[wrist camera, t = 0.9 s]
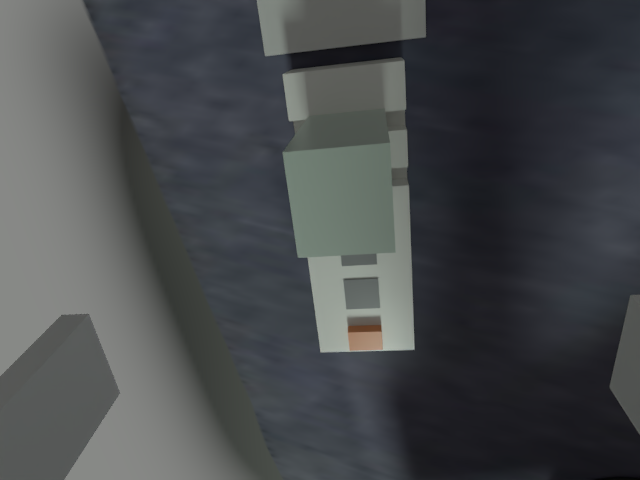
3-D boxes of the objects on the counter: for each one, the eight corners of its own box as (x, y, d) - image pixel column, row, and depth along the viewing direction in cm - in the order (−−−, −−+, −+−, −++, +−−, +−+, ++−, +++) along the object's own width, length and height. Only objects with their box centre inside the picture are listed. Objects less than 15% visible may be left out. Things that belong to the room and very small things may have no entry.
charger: (388, 182, 30) (395, 252, 21) (320, 187, 31) (297, 258, 21) (383, 104, 28) (390, 142, 19) (311, 111, 29) (282, 152, 19)
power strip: (410, 322, 37) (415, 356, 33) (324, 325, 38) (319, 359, 34) (400, 57, 29) (405, 61, 25) (291, 69, 30) (280, 75, 26)
